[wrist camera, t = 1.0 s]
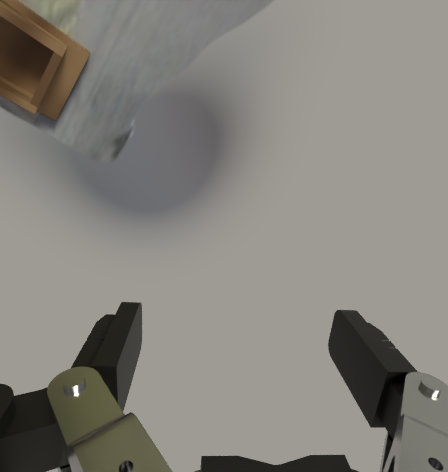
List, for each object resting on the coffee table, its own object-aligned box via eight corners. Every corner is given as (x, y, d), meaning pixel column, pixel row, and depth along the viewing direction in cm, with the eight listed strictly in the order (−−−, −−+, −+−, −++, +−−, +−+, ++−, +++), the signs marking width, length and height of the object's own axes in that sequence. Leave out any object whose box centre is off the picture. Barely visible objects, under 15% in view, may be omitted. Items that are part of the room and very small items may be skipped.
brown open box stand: (-67, 50, 32) (-86, 57, 28) (-37, -39, 29) (-54, -43, 25) (56, 117, 39) (53, 130, 35) (90, 52, 36) (90, 58, 32)
